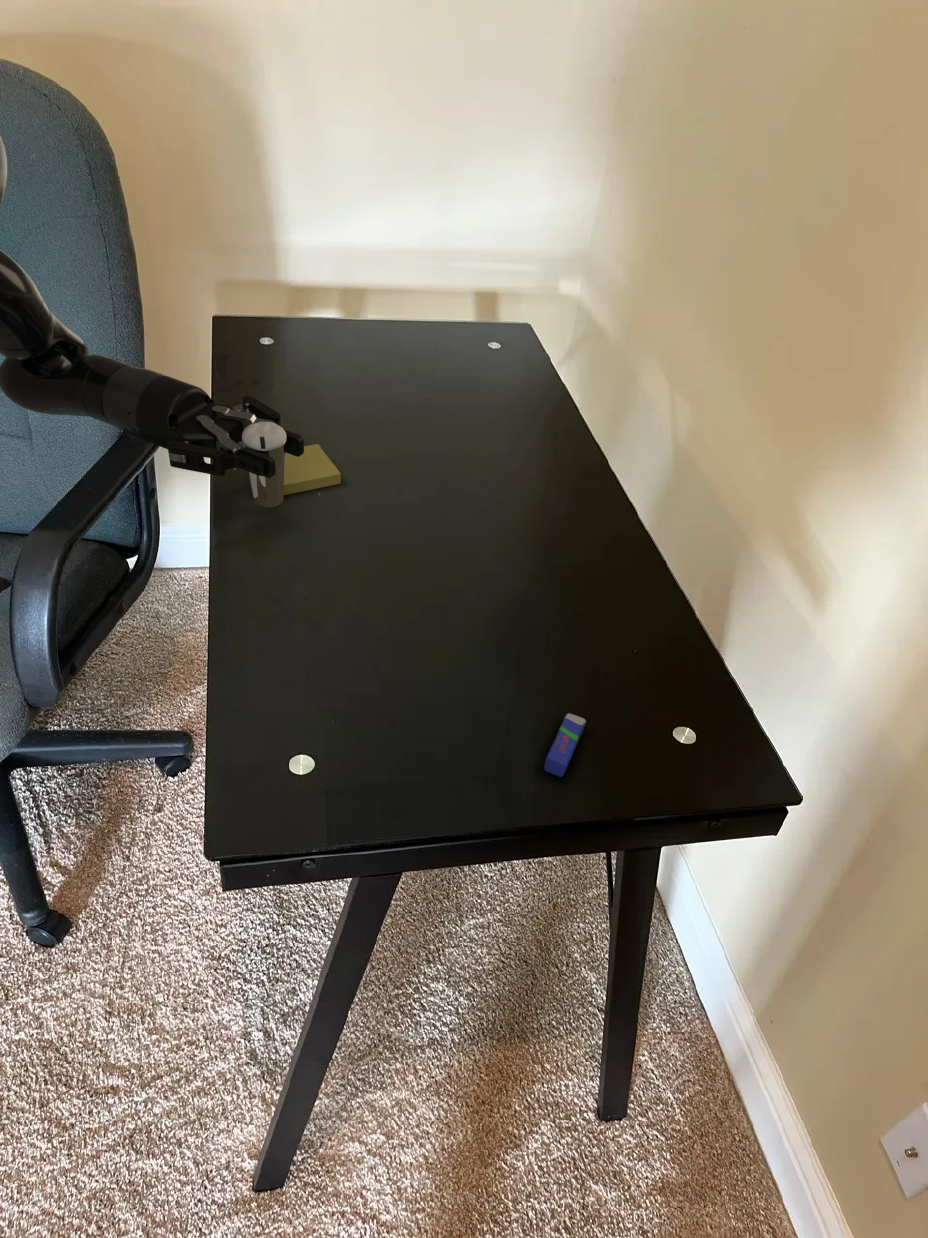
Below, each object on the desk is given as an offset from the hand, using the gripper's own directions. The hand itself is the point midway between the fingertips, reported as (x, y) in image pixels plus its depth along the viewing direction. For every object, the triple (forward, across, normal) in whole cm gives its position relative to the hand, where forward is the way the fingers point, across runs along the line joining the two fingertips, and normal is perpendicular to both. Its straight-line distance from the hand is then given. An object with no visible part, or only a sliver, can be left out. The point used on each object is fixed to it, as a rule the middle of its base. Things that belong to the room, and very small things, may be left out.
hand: (287, 457), depth 87 cm
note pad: (-7, +12, +11) cm, 18 cm away
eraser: (+38, -13, +11) cm, 42 cm away
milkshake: (-3, 0, +7) cm, 7 cm away
